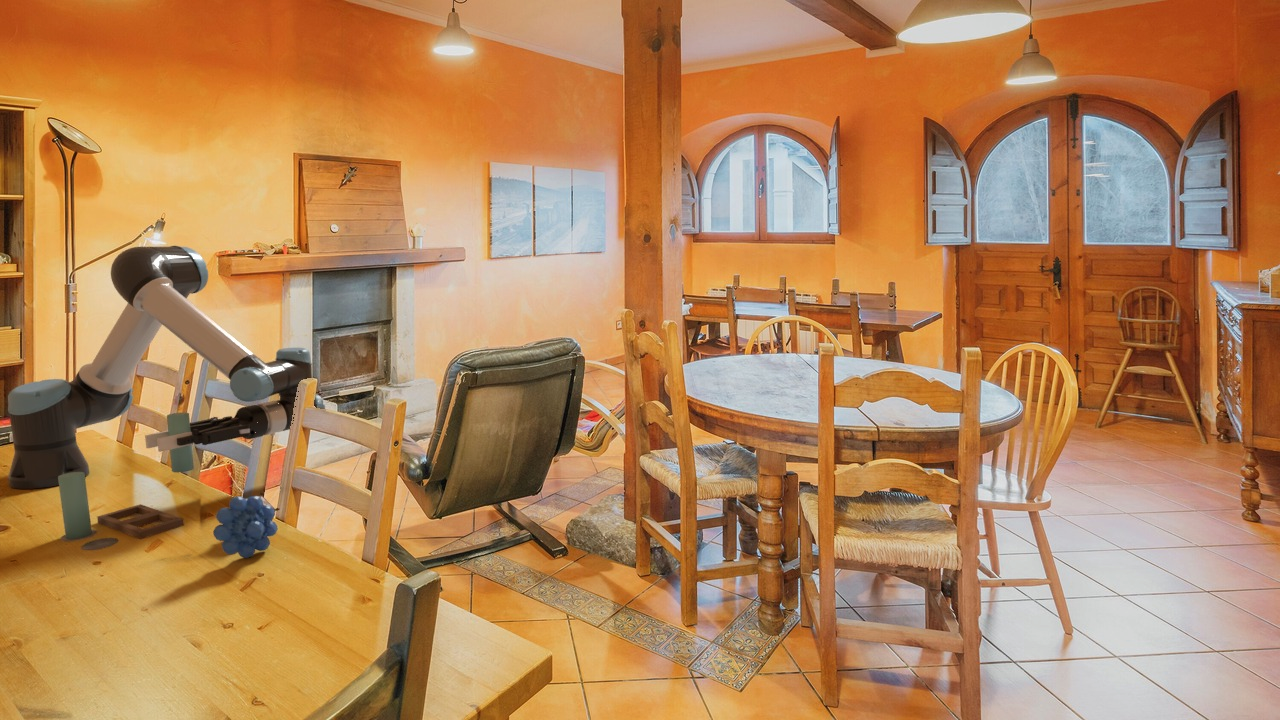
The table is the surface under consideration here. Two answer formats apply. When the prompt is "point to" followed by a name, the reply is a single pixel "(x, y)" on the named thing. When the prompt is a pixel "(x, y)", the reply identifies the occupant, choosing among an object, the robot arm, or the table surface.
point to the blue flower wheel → (245, 526)
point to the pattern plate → (94, 542)
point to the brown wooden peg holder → (140, 521)
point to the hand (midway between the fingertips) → (152, 443)
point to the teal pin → (182, 455)
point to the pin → (75, 505)
